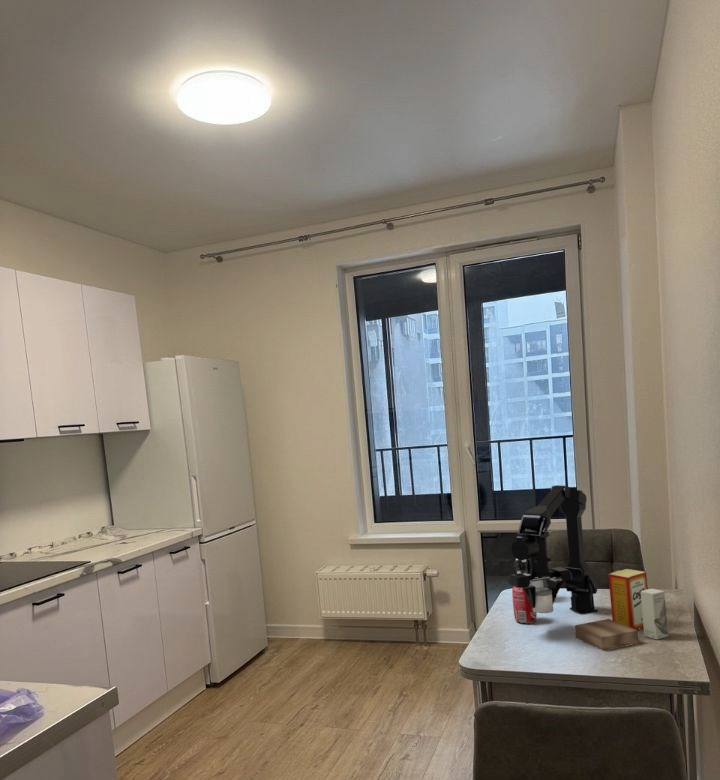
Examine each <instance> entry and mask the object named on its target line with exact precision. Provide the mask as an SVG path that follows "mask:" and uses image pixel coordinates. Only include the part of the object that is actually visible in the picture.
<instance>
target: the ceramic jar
mask: <svg viewBox="0 0 720 780" xmlns="http://www.w3.org/2000/svg"><path fill="white" fill-rule="evenodd" d="M533 611H534V612H536V613H537V614H549V613H552V612H554V603H553V602H552V590H551V589H549V588H548V587H543V588H542V587H540V588H536V595H535V608H533Z"/></svg>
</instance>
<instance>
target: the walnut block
mask: <svg viewBox="0 0 720 780" xmlns="http://www.w3.org/2000/svg"><path fill="white" fill-rule="evenodd" d="M638 630H639V629H637V630H635V629H633V628H630V627H628V626H625V625H623V624H620V623H618V622H615V621H613V620H612V619H610V618H607V619H606V618H605V619H602V620H601V619H600V620H596V621H590V622H585V623H580V624H574V631H575V632H574V633H575V636H574V637H575V639H577V640H579V641H581V642H584V643H586V644H587V643H588V644H587V645H590V646H591V647H594V648H596V647H597V648H596V649H598V650H600V649H601V651H602V650H605V651H609V650H608V649H610V650H613V649H612V648H615V649H617V648H616V647H619V648H622V647H621V646H624V647H627V646H626V645H629V646H631V645H630V644H634V645H636V644H635V643H640V641H639V631H638Z"/></svg>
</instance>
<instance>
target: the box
mask: <svg viewBox="0 0 720 780" xmlns="http://www.w3.org/2000/svg"><path fill="white" fill-rule="evenodd" d="M665 595H666V593H665V591H663V590H660V589H656V588H648V590H644V591H641V602H642V614H643V626H644V627H643V635H644V636H645V637H647V638H650V639H654V640H661V639H663V638H667V637H669V630H668V629H669V628H668V619H667V608H666V598H665Z"/></svg>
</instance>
